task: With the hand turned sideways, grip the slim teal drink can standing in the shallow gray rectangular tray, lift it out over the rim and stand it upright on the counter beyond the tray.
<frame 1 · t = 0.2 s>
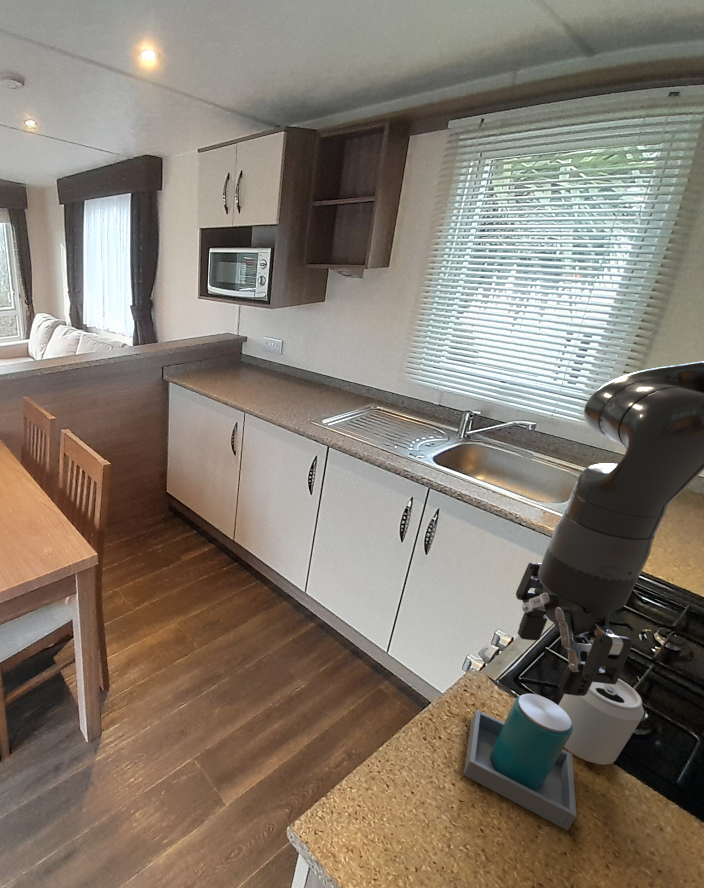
hand: (547, 663, 59), 22 cm above the countertop, tool pointing down, fingers open, 8 cm apart
gray rectangular tray: (514, 771, 69), on the countertop
slim can: (515, 768, 68), point 1 cm above the countertop, touching gray rectangular tray
can: (579, 744, 72), on the countertop
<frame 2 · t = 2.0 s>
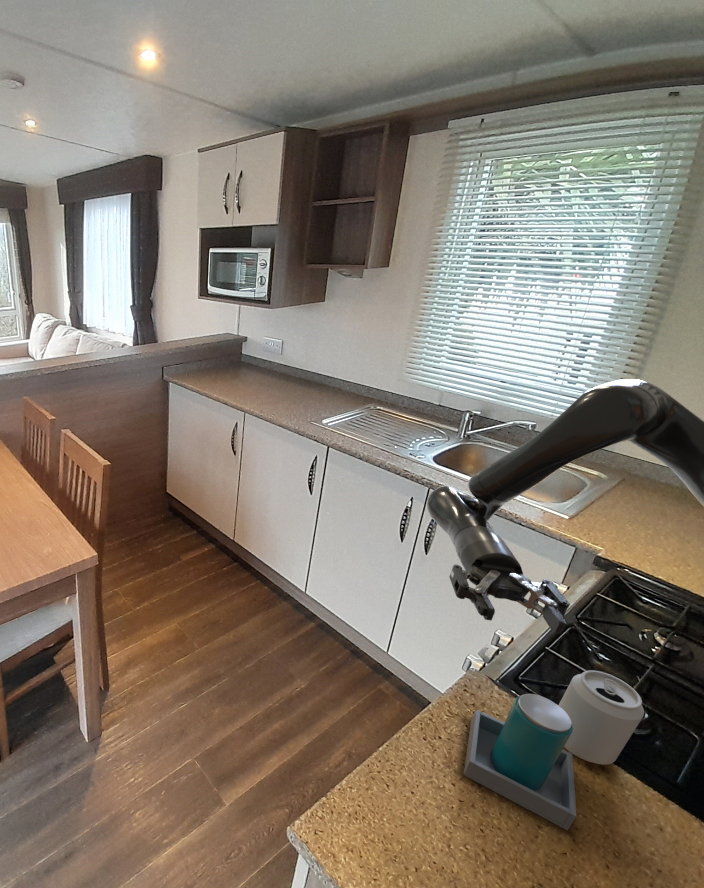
hand: (524, 622, 70), 18 cm above the countertop, tool horizontal, fingers open, 8 cm apart
nothing on the countertop moved.
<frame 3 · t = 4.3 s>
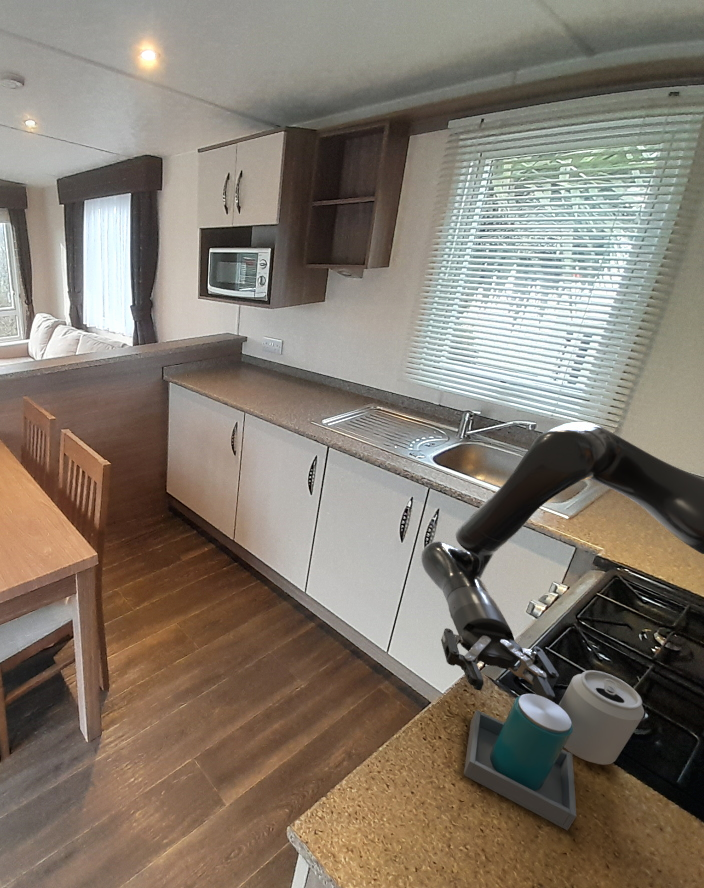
hand: (513, 694, 71), 8 cm above the countertop, tool horizontal, fingers open, 8 cm apart
nothing on the countertop moved.
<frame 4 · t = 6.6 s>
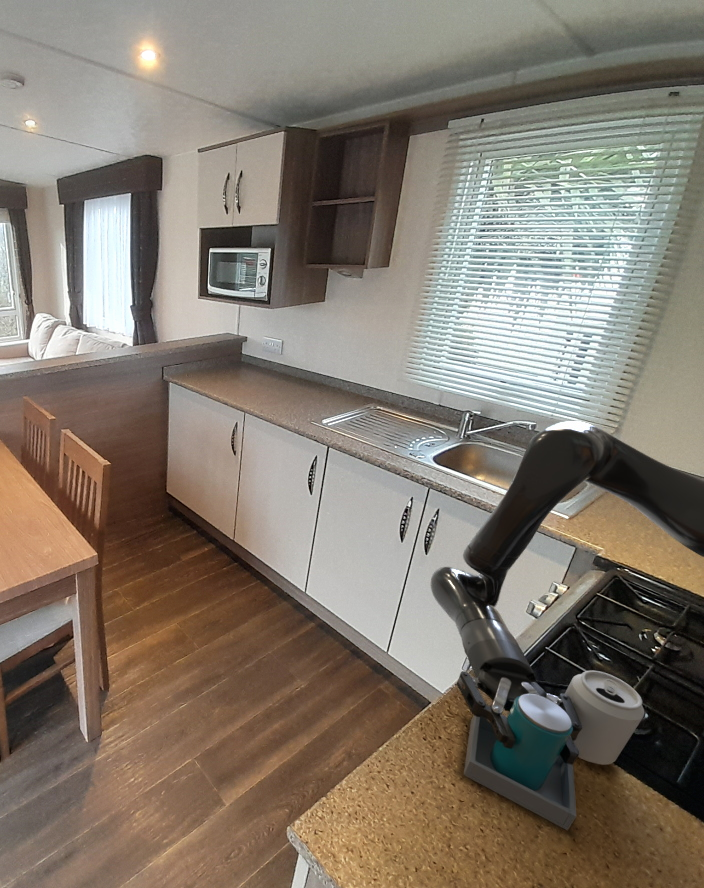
hand: (540, 751, 63), 8 cm above the countertop, tool horizontal, fingers closed on slim can, 6 cm apart
slim can: (515, 768, 68), point 1 cm above the countertop, touching gripper, gray rectangular tray
everything else where it was.
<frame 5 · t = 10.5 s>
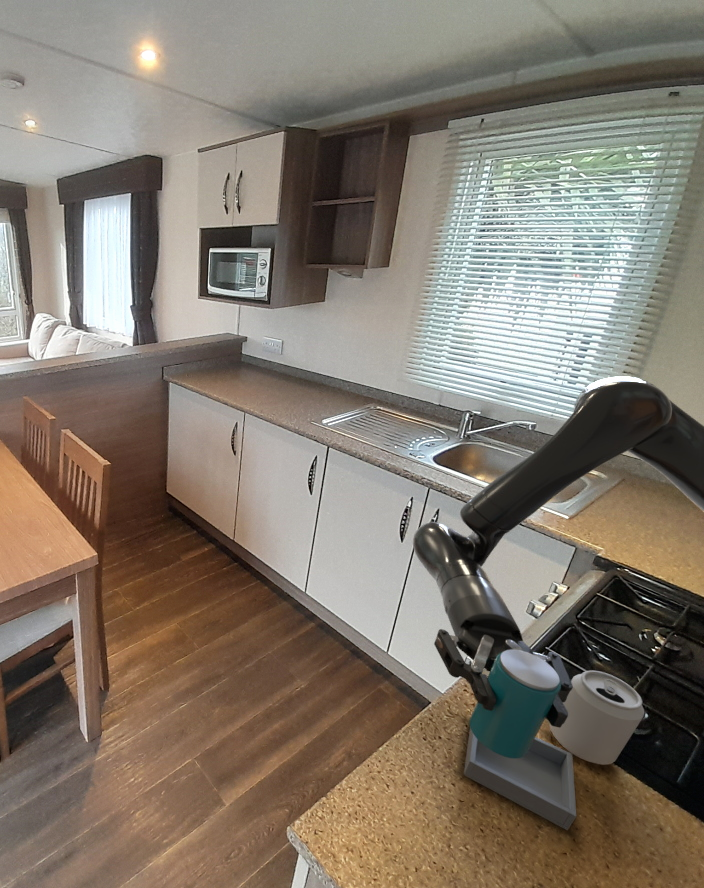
hand: (524, 713, 56), 20 cm above the countertop, tool horizontal, fingers closed on slim can, 6 cm apart
slim can: (497, 735, 61), point 12 cm above the countertop, touching gripper
everything else where it was.
when the fingers open (7 cm above the countertop, at t = 14.6 s): slim can stays where it is, on the countertop.
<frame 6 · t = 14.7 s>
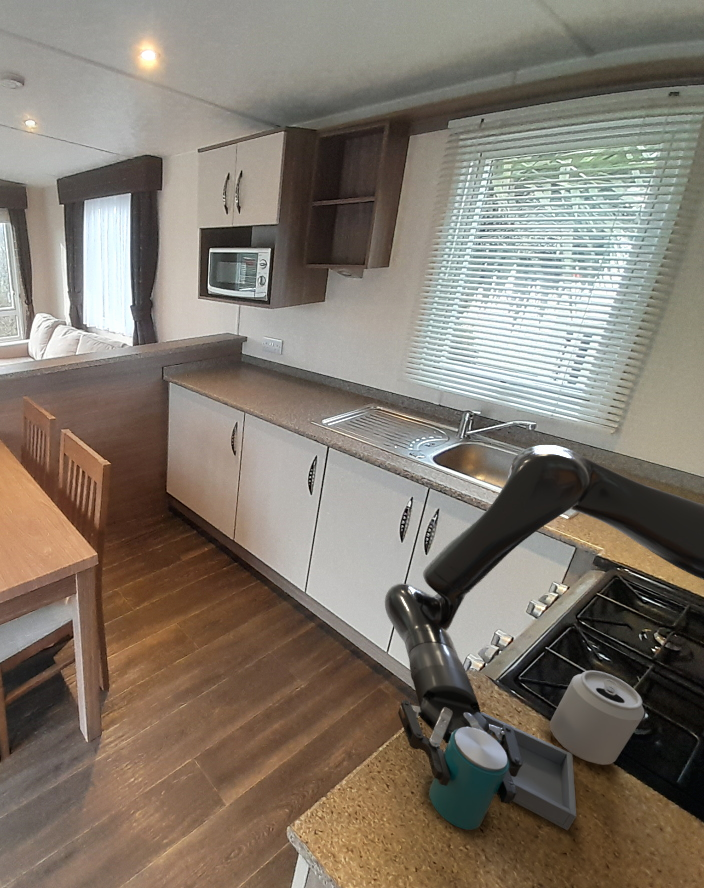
hand: (476, 790, 60), 7 cm above the countertop, tool horizontal, fingers open, 6 cm apart
slim can: (454, 804, 65), on the countertop
everything else where it was.
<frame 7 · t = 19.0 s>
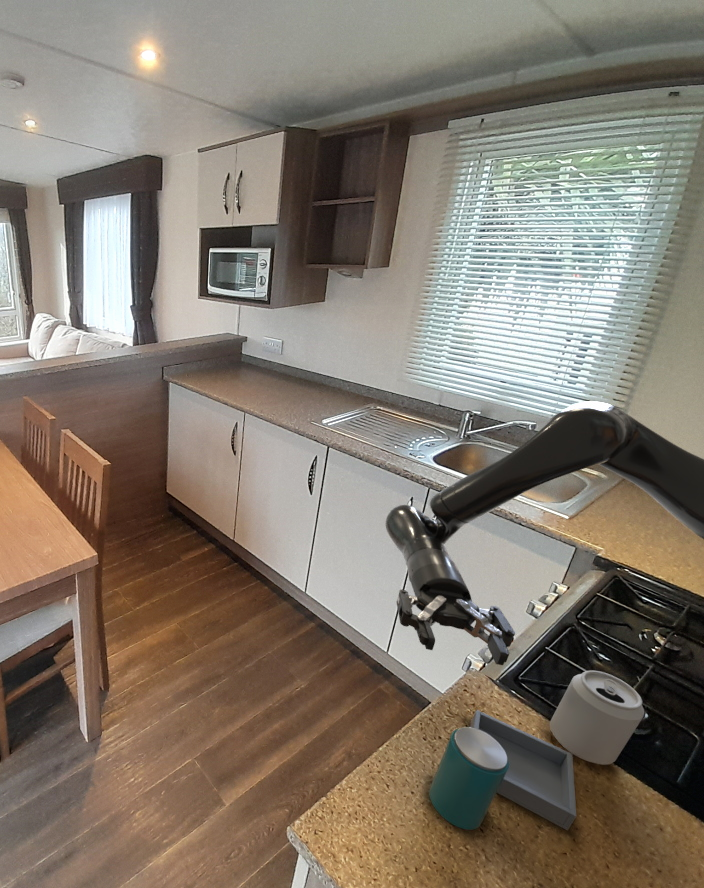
hand: (466, 652, 67), 17 cm above the countertop, tool horizontal, fingers open, 8 cm apart
nothing on the countertop moved.
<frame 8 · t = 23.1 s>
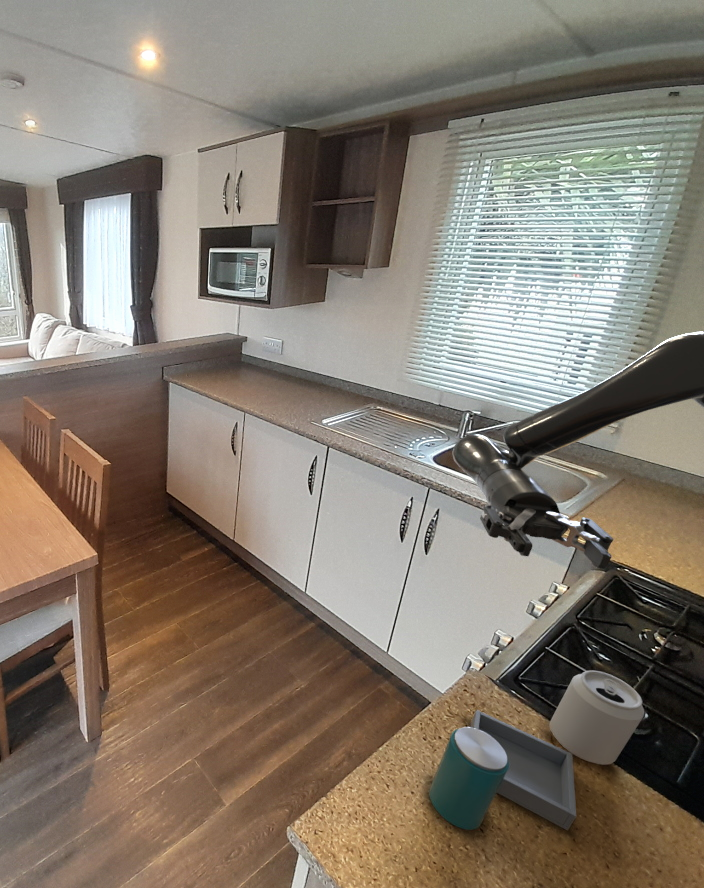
hand: (565, 556, 66), 30 cm above the countertop, tool horizontal, fingers open, 8 cm apart
nothing on the countertop moved.
at the end: slim can inside the target area (0.1 cm from its centre), on the countertop; slim can tilted 0°; the gripper is holding nothing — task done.
